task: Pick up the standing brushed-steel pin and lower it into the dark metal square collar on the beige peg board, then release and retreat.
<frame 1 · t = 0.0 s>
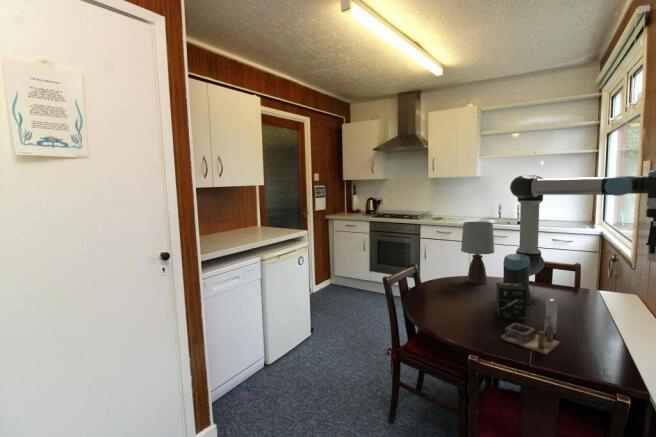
hand: (655, 258, 136), 28 cm above the table, fingers open, 13 cm apart
beige peg board: (529, 341, 127), on the table
tampon box: (510, 316, 151), on the table
lamp: (477, 282, 203), on the table
pin: (550, 332, 134), on the table
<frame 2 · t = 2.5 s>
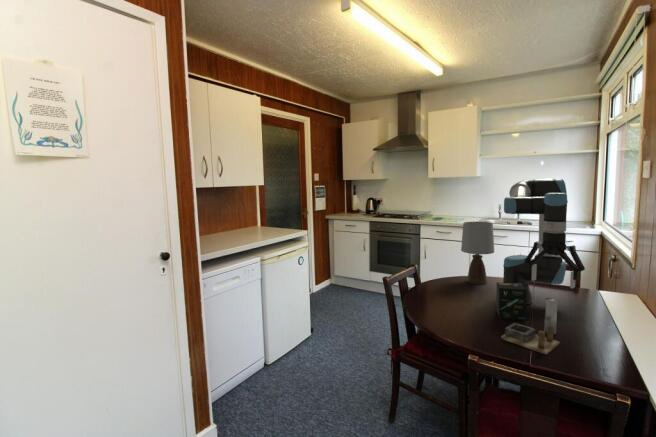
hand: (552, 283, 132), 21 cm above the table, fingers open, 13 cm apart
nothing on the table moved.
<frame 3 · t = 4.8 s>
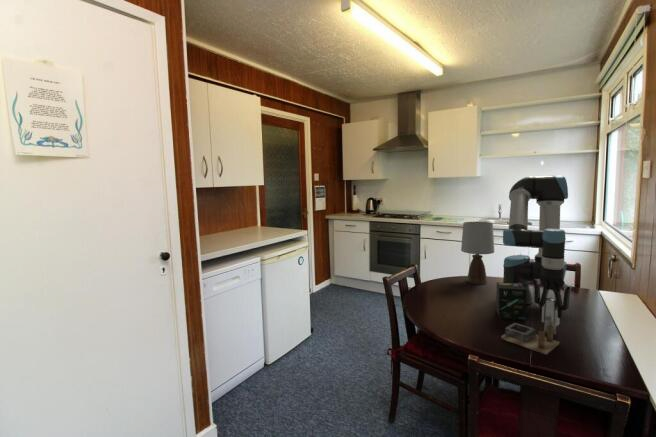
hand: (550, 322, 133), 4 cm above the table, fingers closed on pin, 4 cm apart
pin: (550, 332, 134), on the table, touching gripper
everything else where it was.
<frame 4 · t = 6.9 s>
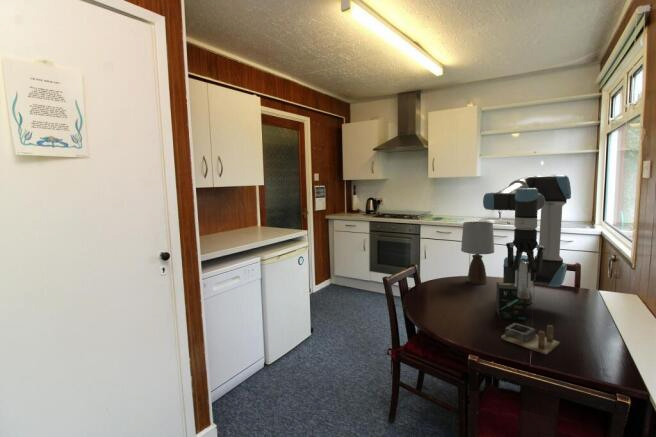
hand: (523, 287, 128), 21 cm above the table, fingers closed on pin, 4 cm apart
pin: (523, 297, 128), point 17 cm above the table, touching gripper
everything else where it was.
when the fingers open (7 cm above the table, at t = 9.1 s): pin drops 1 cm, resting on beige peg board.
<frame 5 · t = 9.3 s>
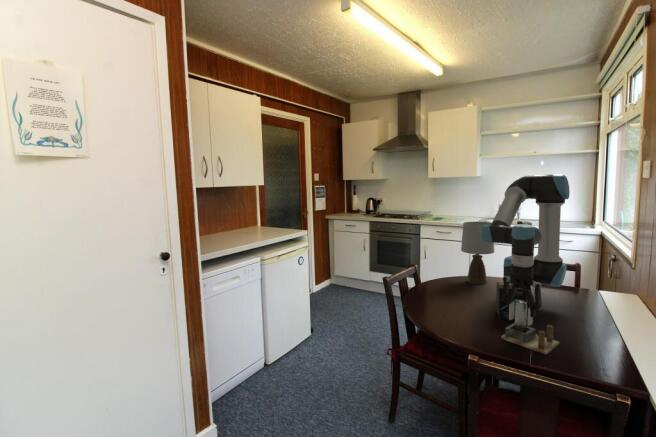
hand: (520, 321, 129), 7 cm above the table, fingers open, 6 cm apart
pin: (520, 335, 130), point 1 cm above the table, touching beige peg board
everything else where it was.
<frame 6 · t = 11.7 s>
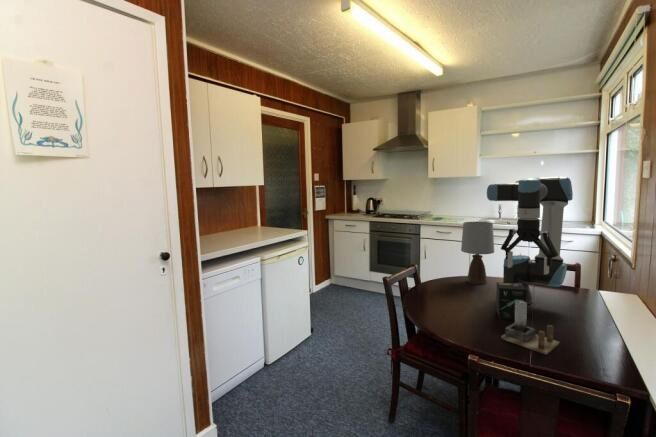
hand: (527, 270, 132), 26 cm above the table, fingers open, 13 cm apart
nothing on the table moved.
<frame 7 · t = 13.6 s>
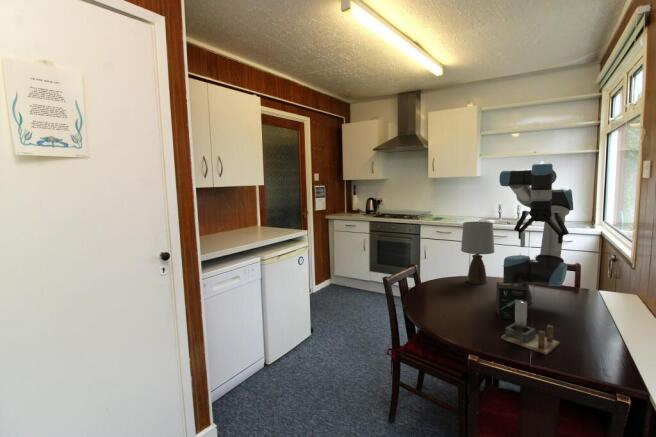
hand: (539, 248, 141), 33 cm above the table, fingers open, 13 cm apart
nothing on the table moved.
at the end: pin 0.0 cm from the target spot on the beige peg board, point 1.0 cm above the beige peg board's base; pin tilted 0°; the gripper is holding nothing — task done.
